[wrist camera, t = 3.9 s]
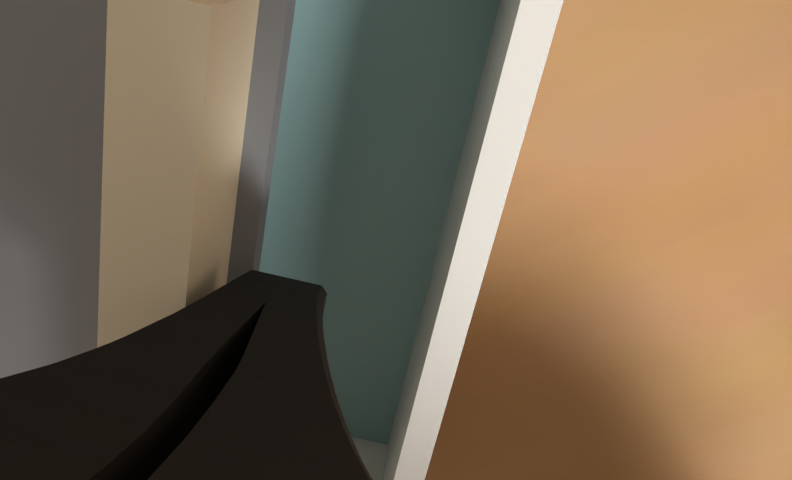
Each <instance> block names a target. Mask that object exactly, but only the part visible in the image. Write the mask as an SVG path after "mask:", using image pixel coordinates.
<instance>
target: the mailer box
mask: <svg viewBox="0 0 792 480" xmlns="http://www.w3.org/2000/svg"><path fill="white" fill-rule="evenodd" d="M562 4H563V0H296V4H295V11H294V19H293V26H292V33H291V40H290V48H289V55H288V62H287V70H286V77H285V84H284V91H283V99H282V106H281V113H280V121H279V128H278V135H277V142H276V150H275V157H274V164H273V172H272V179H271V186H270V193H269V201H268V208H267V215H266V223H265V230H264V237H263V245H262V252H261V259H260V266H259V271H260V272H264V273H269V274H273V275H278V276H282V277H286V278H291V279H295V280H300V281H304V282H309V283H313V284H317V285H322V287H323V288H324V290H325V291H326V293H327V297H326V303H325V308H324V313H323V332H324V341H325V347H326V354H327V360H328V365H329V369H330V374H331V378H332V382H333V385H334V389H335V393H336V396H337V399H338V403H339V406H340V409H341V412H342V414H343V417H344V420H345V422H346V425H347V427H348V430H349V433H350V435H351V437H352V440H353V442H354V444H355V446H356V449H357V451H358V453H359V455H360V457H361V459H362V462H363V463H364V465H365V467H366V469H367V471H368V472H369V474H370V476H371V478H372V479H373V480H425V477H426V474H427V470H428V467H429V463H430V460H431V456H432V453H433V449H434V446H435V443H436V439H437V436H438V432H439V429H440V425H441V422H442V418H443V415H444V411H445V408H446V405H447V401H448V398H449V394H450V391H451V387H452V384H453V380H454V377H455V373H456V370H457V366H458V363H459V360H460V356H461V353H462V349H463V346H464V342H465V339H466V335H467V332H468V328H469V325H470V322H471V318H472V315H473V311H474V308H475V304H476V301H477V297H478V294H479V290H480V287H481V284H482V280H483V277H484V273H485V270H486V266H487V263H488V259H489V256H490V252H491V249H492V246H493V242H494V239H495V235H496V232H497V228H498V225H499V221H500V218H501V214H502V211H503V208H504V204H505V201H506V197H507V194H508V190H509V187H510V183H511V180H512V176H513V173H514V169H515V166H516V163H517V159H518V156H519V152H520V149H521V145H522V142H523V138H524V135H525V131H526V128H527V125H528V121H529V118H530V114H531V111H532V107H533V104H534V100H535V97H536V93H537V90H538V87H539V83H540V80H541V76H542V73H543V69H544V66H545V62H546V59H547V55H548V52H549V49H550V45H551V42H552V38H553V35H554V31H555V28H556V24H557V21H558V17H559V14H560V10H561V7H562Z"/></svg>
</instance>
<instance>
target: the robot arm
mask: <svg viewBox="0 0 792 480" xmlns="http://www.w3.org/2000/svg"><path fill="white" fill-rule="evenodd" d="M326 297H327V293H326V291H325V290H324V288H323V287H322V285H317V284H313V283H309V282H304V281H300V280H295V279H291V278H286V277H282V276H278V275H273V274H269V273H264V272H260V271H256V270H250V271H248V272H247V273H245V274H243V275H241V276H239V277H238V278H236V279H234V280H232V281H231V282H229V283H227V284H225V285H224V286H222V287H220V288H219V289H217V290H215V291H213V292H212V293H210V294H208V295H206V296H205V297H203V298H201V299H199V300H197V301H196V302H194V303H192V304H190V305H188V306H186V307H185V308H183V309H181V310H179V311H177V312H175V313H173V314H171V315H169V316H167V317H165V318H163V319H161V320H159V321H156V322H154V323H152V324H150V325H148V326H146V327H144V328H142V329H140V330H137V331H135V332H133V333H131V334H129V335H127V336H125V337H122V338H120V339H118V340H115V341H113V342H111V343H108V344H106V345H103V346H100V347H98V348H95V349H93V350H90V351H87V352H84V353H82V354H79V355H76V356H73V357H70V358H68V359H65V360H62V361H59V362H56V363H53V364H50V365H47V366H43V367H39V368H36V369H32V370H29V371H25V372H21V373H18V374H14V375H11V376H7V377H3V378H0V480H373V479H372V478H371V476H370V474H369V472H368V471H367V469H366V467H365V465H364V463H363V462H362V459H361V457H360V455H359V453H358V451H357V449H356V446H355V444H354V442H353V440H352V437H351V435H350V433H349V430H348V427H347V425H346V422H345V420H344V417H343V414H342V412H341V409H340V406H339V403H338V399H337V396H336V393H335V389H334V385H333V382H332V378H331V374H330V369H329V365H328V360H327V354H326V347H325V341H324V332H323V313H324V308H325V303H326Z"/></svg>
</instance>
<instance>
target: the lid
mask: <svg viewBox="0 0 792 480" xmlns="http://www.w3.org/2000/svg"><path fill="white" fill-rule="evenodd" d="M295 4H296V0H0V378H3V377H7V376H11V375H14V374H18V373H21V372H25V371H29V370H32V369H36V368H39V367H43V366H47V365H50V364H53V363H56V362H59V361H62V360H65V359H68V358H70V357H73V356H76V355H79V354H82V353H84V352H87V351H90V350H93V349H95V348H98V347H100V346H103V345H106V344H108V343H111V342H113V341H115V340H118V339H120V338H122V337H125V336H127V335H129V334H131V333H133V332H135V331H137V330H140V329H142V328H144V327H146V326H148V325H150V324H152V323H154V322H156V321H159V320H161V319H163V318H165V317H167V316H169V315H171V314H173V313H175V312H177V311H179V310H181V309H183V308H185V307H186V306H188V305H190V304H192V303H194V302H196V301H197V300H199V299H201V298H203V297H205V296H206V295H208V294H210V293H212V292H213V291H215V290H217V289H219V288H220V287H222V286H224V285H225V284H227V283H229V282H231V281H232V280H234V279H236V278H238V277H239V276H241V275H243V274H245V273H247V272H248V271H250V270H256V271H259V266H260V259H261V252H262V245H263V237H264V230H265V223H266V215H267V208H268V201H269V193H270V186H271V179H272V172H273V164H274V157H275V150H276V142H277V135H278V128H279V121H280V113H281V106H282V99H283V91H284V84H285V77H286V70H287V62H288V55H289V48H290V40H291V33H292V26H293V19H294V11H295Z"/></svg>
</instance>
